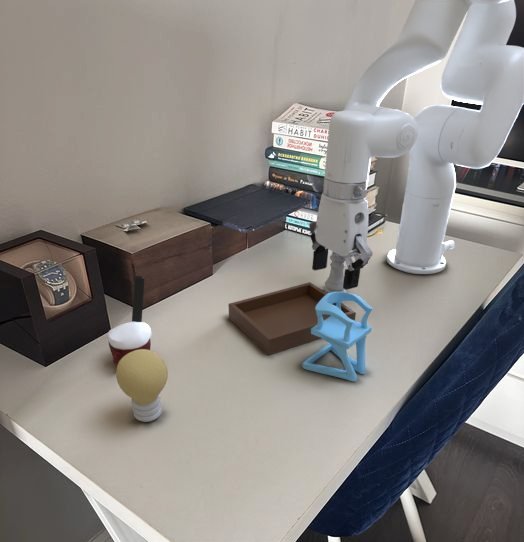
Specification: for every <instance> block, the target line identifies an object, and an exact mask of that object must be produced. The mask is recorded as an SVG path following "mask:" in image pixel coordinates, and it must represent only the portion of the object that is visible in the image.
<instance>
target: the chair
mask: <svg viewBox="0 0 524 542" xmlns="http://www.w3.org/2000/svg"><path fill="white" fill-rule="evenodd" d="M343 302H352V303H355V304H357V305H358V306H359V307H360V308H361V309H362V310H363V311H364V312H365V313H364V314H363V316H362V318H361V320H360V321H361V322H360V321H357V320H355V321H354V320H352V319H350V318H348V317H347V316H346V315H345V314H344V313H343V312H342V311H341V303H343ZM333 303H336V306H335V305H332V304H333ZM315 309H316V314H317V317H318V324H317V325H316V326H314V327H313V328H311V334H313V335H316V336H318V337H321V338H320V339H322V340H324V341H325V342H327V343H328V344H326V345H325V346H323V347H322V348H321V349H319V350H318V351H316V352H315V353H314V354H312V355H310V356H309V357H308V358H307V359H305V360H304V361H302V369H303V370H306V371H310V372H314V373H318V374H322V375H327V376H332V377H335V378H339V379H343V380H347V381H349V382H352V383H353V382H357V379H358V378H357V373H358V374H361V375H365V374H366V370H367V369H366V338H367V336H368V335H369V334H371V333H372V330H373V327H372V326H370V325H368V319H369V316H370V314H371V313H372V312H373V310H374V308H373V307H372V306H371V305H369V304H368V303H367V302H366V301H365V300H364V299H363V298H362V297H361V296H359V295H358V294H355V293H350V292H347V291H346V292H331V293H327V294H326V295H325V296H324V297H323V298H322V299H321V300H320V301H319V303H318V304H317V305H316V307H315ZM321 314H327V315H331V316H330V317H329V318H327V319H326V320H325V321H323V317H322V315H321ZM354 345H355V348H356V360H355V359H354V358H352V357H351V356H350V355H349V354H348V353H347V350H350V349H351V348H352V347H353V346H354ZM330 351H331V352H333V353H334V354H335V355H336V356H337V357H338V358H340V360H341V362H342V365H343V366H344V369H345V370H344V369H340V368H336V367H332V366H326V365H321V364H316V363H315V362H316V361H317V360H318V359H320V358H321V357H323V356H324V355H325V354H327V353H328V352H330Z"/></svg>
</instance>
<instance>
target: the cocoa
mask: <svg viewBox="0 0 524 542" xmlns="http://www.w3.org/2000/svg"><path fill="white" fill-rule="evenodd" d="M144 289H145V277H144V276H142V275H135V276H134V279H133V295H132V296H133V297H132V313H131V314H132V315H131V321H127V322H124V323H120V324H119V325H118V326H115V327H113V328H111V329H110V330H108V333H107V335H106V339H107V341H108V347H109V350H110V353H111V356H112V360H113V363H114V364H115V365H117V366H118V363H119V361H120V360H121V359H122V358H123V357H124V356H125V355H127V354H128V353H130V352H132V351H135V350H139V349H146V350H150V351H151V343H152V342H151V341H152V340H151V337H152V336H153V334H152V329H151V327H150V325H149V324H147V323H146V322H145V321H143V307H144V306H143V305H144V294H145V293H144V292H145V290H144Z"/></svg>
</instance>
